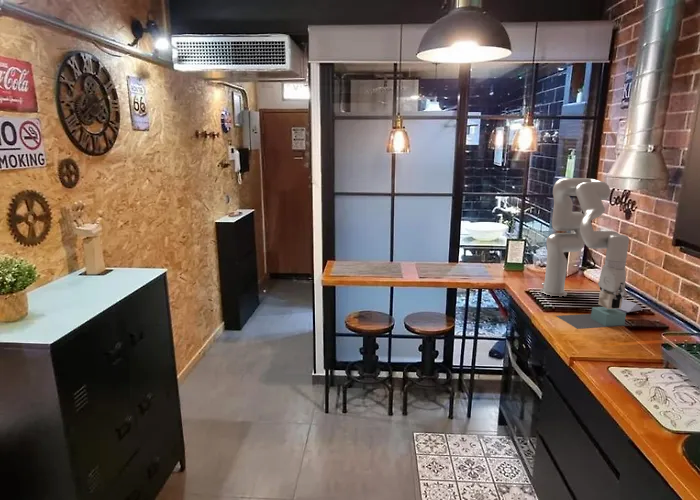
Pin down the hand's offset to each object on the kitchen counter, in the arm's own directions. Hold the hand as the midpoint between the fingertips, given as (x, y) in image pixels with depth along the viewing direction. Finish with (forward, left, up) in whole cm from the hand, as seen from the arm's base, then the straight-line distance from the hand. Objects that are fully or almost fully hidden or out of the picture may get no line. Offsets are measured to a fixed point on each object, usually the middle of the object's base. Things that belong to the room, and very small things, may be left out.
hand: (609, 304), depth 194 cm
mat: (-2, -6, -9) cm, 11 cm away
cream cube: (0, 0, -1) cm, 1 cm away
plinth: (0, 0, -8) cm, 8 cm away
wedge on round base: (-11, +16, -9) cm, 21 cm away
